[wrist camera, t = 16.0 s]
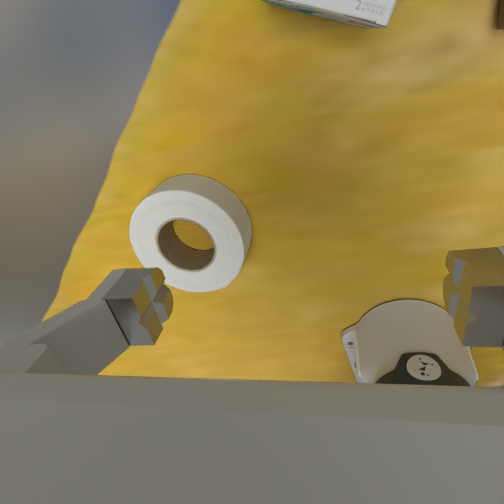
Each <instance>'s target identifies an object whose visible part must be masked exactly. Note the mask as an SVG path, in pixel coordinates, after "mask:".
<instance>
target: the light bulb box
mask: <svg viewBox="0 0 504 504" xmlns="http://www.w3.org/2000/svg"><path fill="white" fill-rule="evenodd" d="M262 1H264V2H266V3H268V4H271V5H275V6H278V7H281V8H285V9H289V10H292V11H296V12H301V13H305V14H309V15H313V16H318V17H322V18H326V19H330V20H335V21H339V22H343V23H347V24H351V25H355V26H359V27H364V28H386V27H387V25H388V22H389V20H390V17H391V14H392V12H393V9H394V6H395V4H396V1H397V0H262Z"/></svg>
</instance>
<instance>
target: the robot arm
mask: <svg viewBox="0 0 504 504" xmlns="http://www.w3.org/2000/svg"><path fill="white" fill-rule="evenodd" d="M445 265H446V267H447V269H448V271H449V274H448V275H447V276H446V277H445V278H444V282H443V297H444V303H445V307H446V309H447V311H445V310H444V309H442V308H441V307H439V306H437V305H435V304H432V303H429V302H425V301H420V300H397V301H392V302H388V303H385V304H382V305H379V306H377V307H375V308H374V309H372V310H370V311H369V312H368V313H366V314H365V315H364V316H363V317H362V319H361V320H360V321H359V322H358V323H357V324H355V325H353V326H351V327H349V328H347V329H345V330H344V331H343V332H342V333H341V338H342V342H343V345H344V348H345V350H346V353H347V356H348V359H349V361H350V364H351V367H352V370H353V373H354V375H355V378H356V381H357V383H343V382H311V381H276V380H241V379H206V378H171V377H138V376H105V375H98V374H99V373H100V372H101V371H102V370H103V369H105V368H106V367H107V366H108V365H109V364H110V363H111V362H113V361H114V360H115V359H116V358H117V357H118V356H120V355H121V354H122V353H123V352H124V351H125V350H127V349H128V348H129V346H134V345H155V343H156V341H157V339H158V337H159V335H160V334H161V332H162V330H163V327H162V323H163V322H165V321H166V320H167V319H169V317H170V315H171V313H172V309H173V297H172V294H171V291H170V289H169V288H167V287H166V286H165V285H164V281H165V279H166V278H165V276H164V274H163V271H162V270H161V269H160V268H158V267H153V268H130V269H129V268H125V269H116V270H112V271H111V273H110V274H109V275H108V276H107V277H106V278H105V279H104V280H103V282H102V283H101V284H100V285H99V286H98V287H97V288H96V289H95V291H94V292H93V293H92V294H91V295H90V296H89V297H88V298H87V300H84V301H80V302H78V303H76V304H74V305H73V306H71V307H69V308H67V309H65V310H63V311H62V312H60V313H58V314H56V315H54V316H52V317H51V318H49V319H47V320H45V321H43V322H41V323H40V324H38V325H36V326H34V327H32V328H31V329H29V330H27V331H25V332H23V333H21V334H19V335H18V336H16V337H14V338H12V339H10V340H8V341H7V342H5V343H4V344H3V345H2V346H1V347H0V504H504V387H474V385H475V383H476V381H477V380H478V373H477V370H476V367H475V364H474V361H473V358H472V355H471V352H470V349H471V347H503V350H504V246H501V247H493V248H480V249H467V250H454V251H448V254H447V256H446V264H445ZM452 316H453V317H454V318H455V320H454V319H453V317H452Z"/></svg>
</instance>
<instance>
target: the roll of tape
mask: <svg viewBox="0 0 504 504" xmlns="http://www.w3.org/2000/svg"><path fill="white" fill-rule="evenodd" d="M173 220H186V221H190V222H193V223H195V224H197V225H199V226H200V227H202V228H203V229H204V230H205V231H206V232H207V233H208V235H209V236H210V238H211V239H212V242H213V245H214V248H213V249H210V250H196V249H193V248H190V247H188V246H186V245H185V244H184V243H182V242H181V241H180V240H179V239H178V237H177V236H176V234H175V232H174V230H173V226H172V221H173ZM129 238H130V241H131V243H132V246H133V249H134V251H135V253H136V255H137V257H138V259H139V260H140V262H141V263H142V264H143V266H144V267H145V268H153V267H158V268H160V269H161V270H162V271H163V274H164V276H165V278H166V279H165V281H164V283H166V284H168V285H170V286H173V287H175V288H178V289H181V290H185V291H190V292H208V291H214V290H219V289H221V288H222V289H224V288H225V287H226V286H227V285H228V284H230V283H231V282H232V281H233V280H234V278H235V277H236V276H237V275H238V274H239V272H240V270H241V268H242V265H243V262H244V260H245V257H246V254H247V252H248V249H249V246H250V243H251V238H252V226H251V221H250V218H249V215H248V212H247V210H246V209H245V207H244V205H243V204H242V202H241V201H240V200H239V198H238V197H237V196H236V195H235V194H234V193H233V192H232V191H231V190H230V189H228V188H227V187H226V186H224V185H223V184H221V183H219V182H217V181H216V180H213V179H211V178H208V177H204V176H200V175H191V174H185V175H178V176H175V177H171V178H169V179H167V180H165V181H164V182H162V183H161V184H160V185H158V186H157V187H156V188H155V189H154V190H153V191H152V192H151V193H150V194H149V195H148V196H147V197H146V198H145V199H144V200H143V201H142V202H141V203H140V204H139V205H138V206H137V207H136V209H135V211H134V213H133V215H132V218H131V221H130V231H129Z"/></svg>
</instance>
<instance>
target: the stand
mask: <svg viewBox="0 0 504 504" xmlns="http://www.w3.org/2000/svg"><path fill="white" fill-rule="evenodd" d="M497 29H504V0H501V2H500V9H499V16H498V24H497Z"/></svg>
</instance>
